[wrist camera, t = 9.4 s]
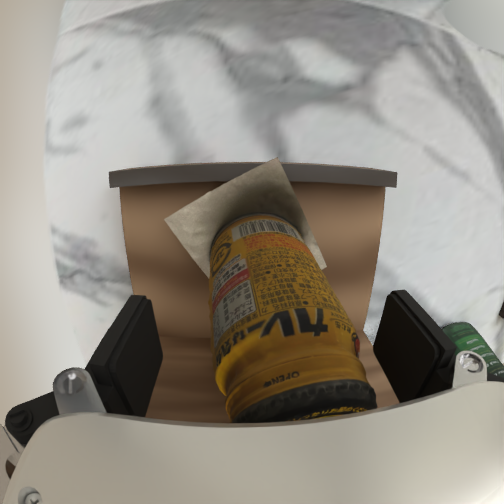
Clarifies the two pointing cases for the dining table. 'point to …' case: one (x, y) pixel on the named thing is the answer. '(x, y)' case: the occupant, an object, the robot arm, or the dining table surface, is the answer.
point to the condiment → (271, 304)
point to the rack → (197, 283)
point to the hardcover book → (502, 311)
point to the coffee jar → (473, 345)
